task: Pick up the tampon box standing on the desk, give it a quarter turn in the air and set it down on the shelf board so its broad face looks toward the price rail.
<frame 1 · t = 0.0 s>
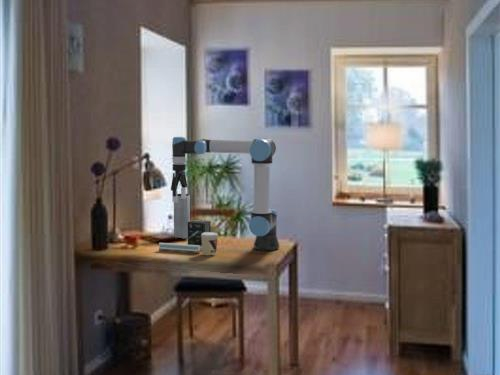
hand: (179, 200, 385), 28 cm above the table, fingers open, 13 cm apart
price rail: (179, 252, 376), resting on shelf board
vase: (181, 237, 417), on the table
shelf board: (183, 249, 383), on the table
tampon box: (199, 245, 395), on the table
coffee cup: (209, 255, 372), on the table
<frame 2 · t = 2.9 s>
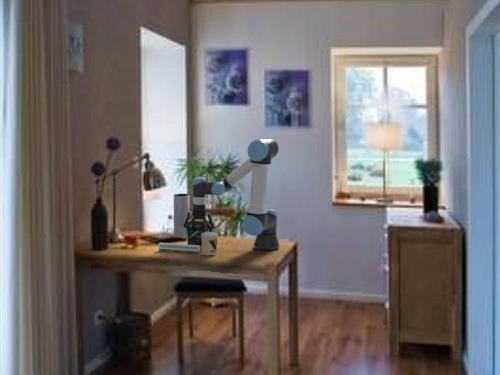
hand: (199, 239, 394), 3 cm above the table, fingers closed on tampon box, 12 cm apart
tampon box: (199, 245, 395), on the table, touching gripper
everything else where it was.
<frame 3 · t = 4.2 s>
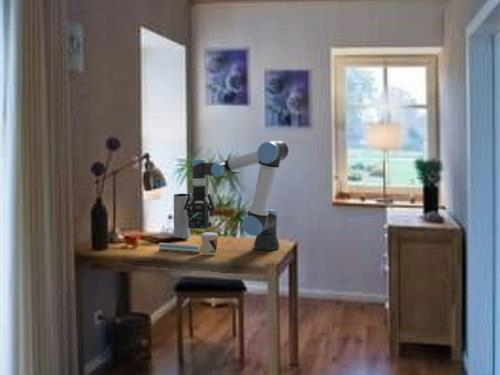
hand: (199, 221, 393), 14 cm above the table, fingers closed on tampon box, 12 cm apart
tampon box: (200, 227, 393), point 11 cm above the table, touching gripper
everything else where it was.
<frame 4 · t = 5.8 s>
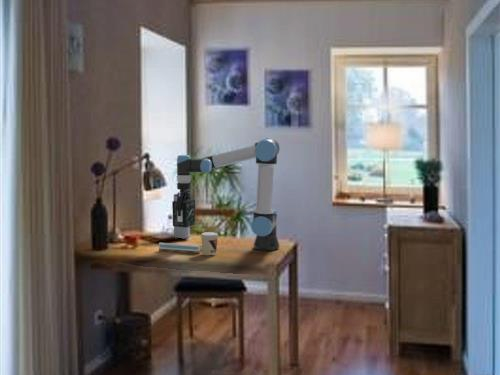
hand: (183, 219, 382), 17 cm above the table, fingers closed on tampon box, 12 cm apart
tampon box: (183, 225, 382), point 14 cm above the table, touching gripper
everything else where it was.
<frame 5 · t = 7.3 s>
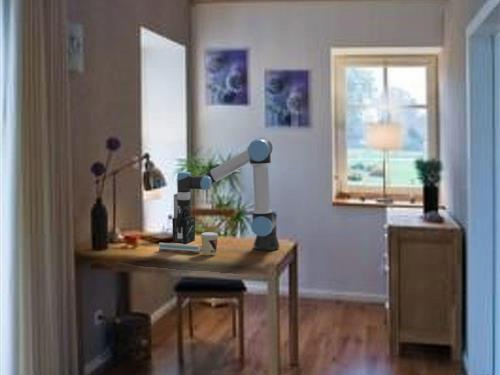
hand: (183, 236, 383), 8 cm above the table, fingers closed on tampon box, 12 cm apart
tampon box: (183, 242, 383), point 4 cm above the table, touching gripper
everything else where it was.
when the fingers open (6 cm above the table, at t = 8.8 s): tampon box stays where it is, resting on shelf board.
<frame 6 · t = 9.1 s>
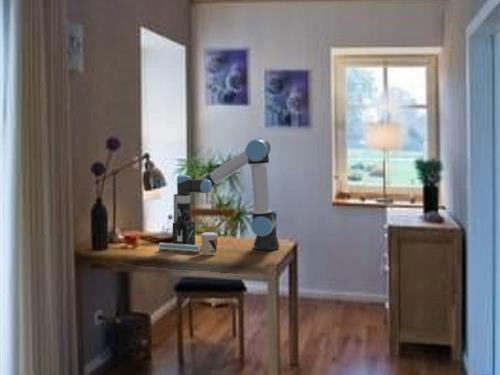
hand: (183, 238, 383), 6 cm above the table, fingers open, 13 cm apart
tampon box: (184, 247, 384), point 1 cm above the table, touching shelf board
everything else where it was.
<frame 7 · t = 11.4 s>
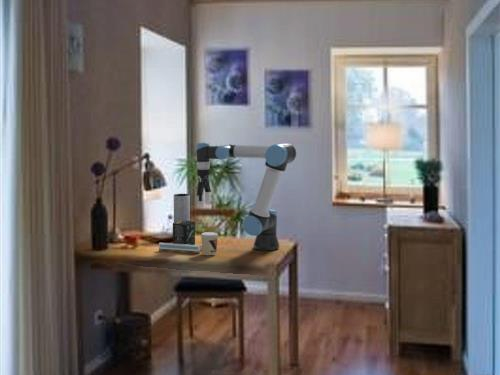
hand: (204, 204, 390), 25 cm above the table, fingers open, 13 cm apart
nothing on the table moved.
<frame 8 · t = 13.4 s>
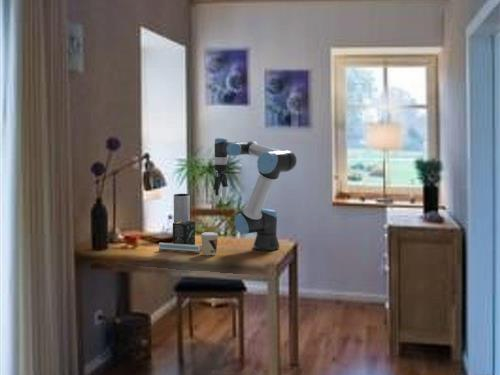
hand: (220, 199, 399), 27 cm above the table, fingers open, 13 cm apart
nothing on the table moved.
at the end: tampon box inside the target area (0.1 cm from its centre), point 1.3 cm above the table; tampon box tilted 0°; the gripper is holding nothing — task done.
